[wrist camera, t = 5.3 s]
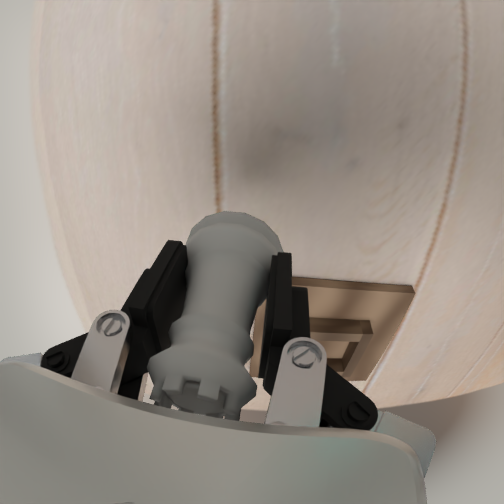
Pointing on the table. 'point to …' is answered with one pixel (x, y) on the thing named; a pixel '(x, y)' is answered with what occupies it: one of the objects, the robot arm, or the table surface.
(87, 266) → the table surface
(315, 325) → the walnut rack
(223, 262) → the rook chess piece
